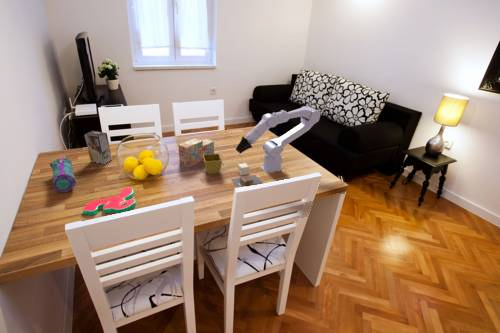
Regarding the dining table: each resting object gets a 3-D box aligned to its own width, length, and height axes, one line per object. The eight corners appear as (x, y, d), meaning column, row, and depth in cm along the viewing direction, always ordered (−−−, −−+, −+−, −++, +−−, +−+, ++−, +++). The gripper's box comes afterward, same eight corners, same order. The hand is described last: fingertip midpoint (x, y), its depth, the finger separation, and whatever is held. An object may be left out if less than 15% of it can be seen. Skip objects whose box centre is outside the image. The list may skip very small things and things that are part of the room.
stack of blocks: (206, 152, 170) (206, 133, 164) (214, 155, 167) (214, 136, 161) (179, 164, 155) (178, 143, 149) (187, 167, 151) (186, 147, 146)
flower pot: (205, 177, 144) (204, 161, 140) (202, 169, 151) (202, 154, 147) (221, 175, 146) (222, 160, 142) (218, 167, 154) (219, 153, 149)
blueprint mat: (254, 175, 149) (254, 174, 148) (267, 188, 138) (267, 187, 138) (230, 180, 143) (230, 179, 143) (242, 194, 132) (242, 193, 132)
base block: (248, 181, 141) (248, 175, 140) (253, 186, 138) (253, 179, 136) (239, 183, 139) (239, 176, 137) (243, 188, 135) (244, 181, 134)
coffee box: (112, 159, 154) (107, 132, 147) (104, 164, 149) (99, 137, 141) (98, 157, 156) (92, 130, 148) (90, 162, 150) (83, 134, 143)
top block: (244, 171, 152) (245, 162, 150) (248, 174, 149) (249, 166, 147) (237, 172, 150) (238, 164, 148) (241, 176, 147) (241, 167, 145)
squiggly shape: (132, 190, 130) (132, 186, 129) (138, 210, 117) (137, 205, 116) (83, 200, 121) (82, 195, 120) (84, 222, 109) (83, 217, 107)
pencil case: (53, 175, 137) (47, 157, 132) (74, 171, 141) (69, 154, 137) (55, 196, 122) (49, 177, 117) (78, 190, 126) (73, 172, 122)
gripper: (252, 129, 149) (234, 147, 149) (250, 124, 134) (230, 144, 134) (261, 139, 148) (243, 157, 148) (260, 134, 133) (240, 154, 134)
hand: (237, 151), depth 141 cm, fingers open, 7 cm apart
